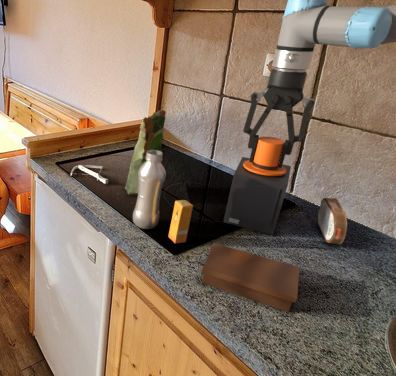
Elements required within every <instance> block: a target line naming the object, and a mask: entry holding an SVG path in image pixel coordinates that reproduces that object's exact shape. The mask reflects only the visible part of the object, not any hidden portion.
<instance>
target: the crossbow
mask: <svg viewBox="0 0 396 376" xmlns="http://www.w3.org/2000/svg"><path fill="white" fill-rule="evenodd" d="M88 168H89V169H88ZM90 168H91V169H100V171H99V173H98V172H95V171H93V170H91V169H90ZM77 169H78V170H80V171H82V172H84V173H83V175H86V176H92V177H94V178H96V181H99V182H102V183H103V184H105V185H108V184H109V179H108V178H105V177H103V176H102V175H100V173H101V171H102V170H103V169H104V167H103V165H94V164H93V165H91V164H78V165H75V166H74V167H72V169H71V171H70V176H71V177H72V176H73V174H74V175H76V173H74V171H75V170H77ZM85 173H86V174H85Z"/></svg>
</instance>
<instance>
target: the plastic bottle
mask: <svg viewBox="0 0 396 376" xmlns="http://www.w3.org/2000/svg"><path fill="white" fill-rule="evenodd" d="M146 160H147V161H146V162H145V163H144V164H143V165H142V166H141V167H140V169H139V172H138V182H139V187H138V195H137V197H136V198H137V199H136V201H135V202H136V203H135V206H134V209H133V212H132V222H133V224H134V225H135V226H136V227H137V228H140V229H144V230H152V229H154V228H155V227H157V226H158V224H159V221H160V201H161V200H160V199H161V195H162V190H163V186H164V183H165V181H166V177H167V172H166V169H165V167H164V165H163V164H162V162H163V151H162V152H161V151H157V150H148V151H147V154H146Z"/></svg>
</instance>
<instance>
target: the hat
mask: <svg viewBox="0 0 396 376" xmlns="http://www.w3.org/2000/svg"><path fill="white" fill-rule="evenodd" d="M284 144H285V140H284V139H281V138H279V137H273V136H259V138H258V141H257V146H256V150H255V154H254V158H253V162H249V160H247V161H245V162H244V164H243V166H244V168H246V169H247V170H249V171H251V172H254V173H257V174H261V175H267V176H281V175H284V174H285V173H286V168H285V167H283V166H282V168H278V166H279V163H280V159H281V155H282V151H283V148H284Z"/></svg>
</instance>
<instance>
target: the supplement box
mask: <svg viewBox="0 0 396 376" xmlns="http://www.w3.org/2000/svg"><path fill="white" fill-rule="evenodd" d="M193 208H194V205H193V204H191V202H190V201H188V200H187V199H179V200H175V202H174V206H173V211H172V217H171V222H170V227H169V231H168V238H169V239H170V240H171V241H172V242H173V243H174V244H181V243H182V244H183V243H186V242H187V237H188V234H189V233H188V232H189V228H190V222H191V219H192V218H191V217H192V214H193V213H192V212H193Z"/></svg>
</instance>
